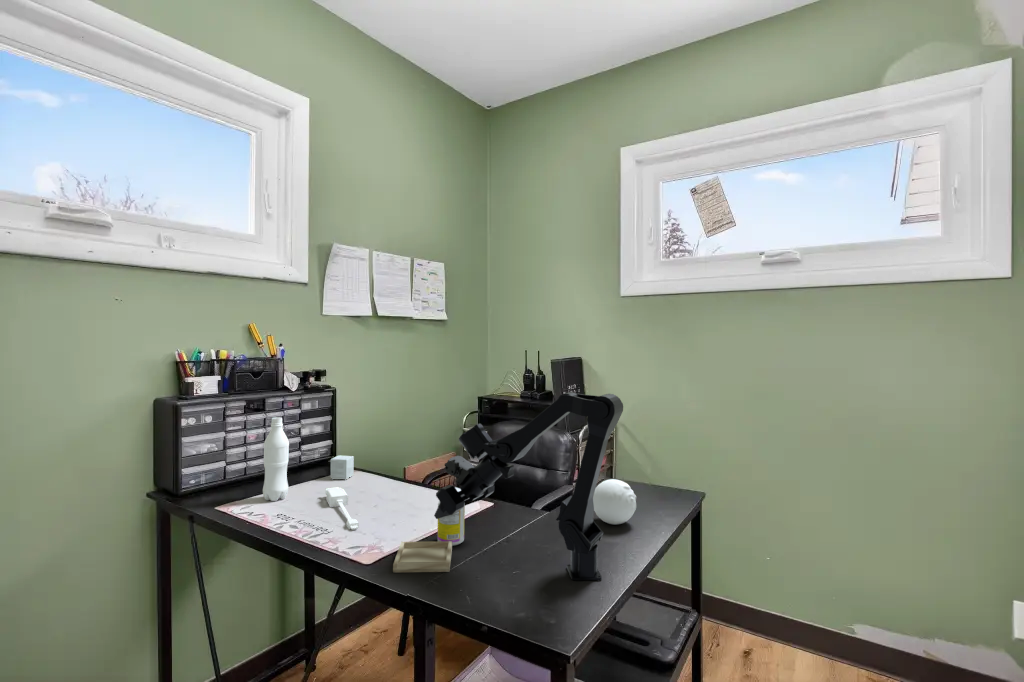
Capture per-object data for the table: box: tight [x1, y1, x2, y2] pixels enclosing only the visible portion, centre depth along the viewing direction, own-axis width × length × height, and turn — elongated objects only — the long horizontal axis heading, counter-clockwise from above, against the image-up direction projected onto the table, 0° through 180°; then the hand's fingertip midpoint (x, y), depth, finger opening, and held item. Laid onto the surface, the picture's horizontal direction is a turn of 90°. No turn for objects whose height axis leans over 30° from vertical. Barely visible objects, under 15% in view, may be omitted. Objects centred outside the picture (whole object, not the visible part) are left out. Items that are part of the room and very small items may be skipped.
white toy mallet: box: [325, 486, 360, 531], centre depth 145 cm, size 5×32×3 cm, turn 29°
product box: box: [330, 454, 355, 480], centre depth 180 cm, size 6×6×7 cm
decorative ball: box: [593, 478, 637, 525], centre depth 140 cm, size 12×12×12 cm
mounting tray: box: [392, 540, 453, 573], centre depth 114 cm, size 12×12×2 cm
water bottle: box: [262, 416, 290, 502], centre depth 155 cm, size 7×7×25 cm
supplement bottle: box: [437, 487, 466, 547], centre depth 125 cm, size 7×7×13 cm
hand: (446, 511), depth 126 cm, fingers open, 9 cm apart
